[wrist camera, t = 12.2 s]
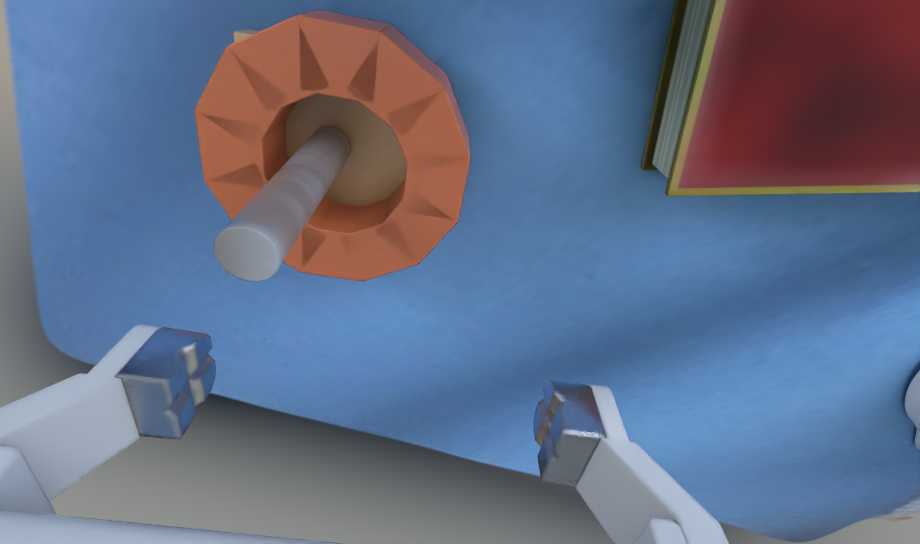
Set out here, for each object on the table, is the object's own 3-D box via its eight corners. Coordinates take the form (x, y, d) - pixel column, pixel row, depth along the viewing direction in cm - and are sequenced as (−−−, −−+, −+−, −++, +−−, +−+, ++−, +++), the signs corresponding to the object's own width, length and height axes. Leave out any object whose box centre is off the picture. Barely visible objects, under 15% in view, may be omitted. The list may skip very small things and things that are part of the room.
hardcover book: (697, -110, 19) (752, -130, 15) (1210, -122, 19) (1385, -145, 15) (641, 167, 25) (669, 198, 22) (1020, 161, 25) (1111, 191, 22)
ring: (487, 43, 21) (491, 52, 18) (445, 262, 27) (444, 293, 25) (215, -12, 20) (177, -10, 17) (239, 231, 26) (214, 260, 23)
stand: (431, 62, 23) (406, 137, 12) (411, 222, 27) (380, 374, 17) (245, 28, 22) (46, 76, 11) (258, 199, 27) (127, 344, 16)
